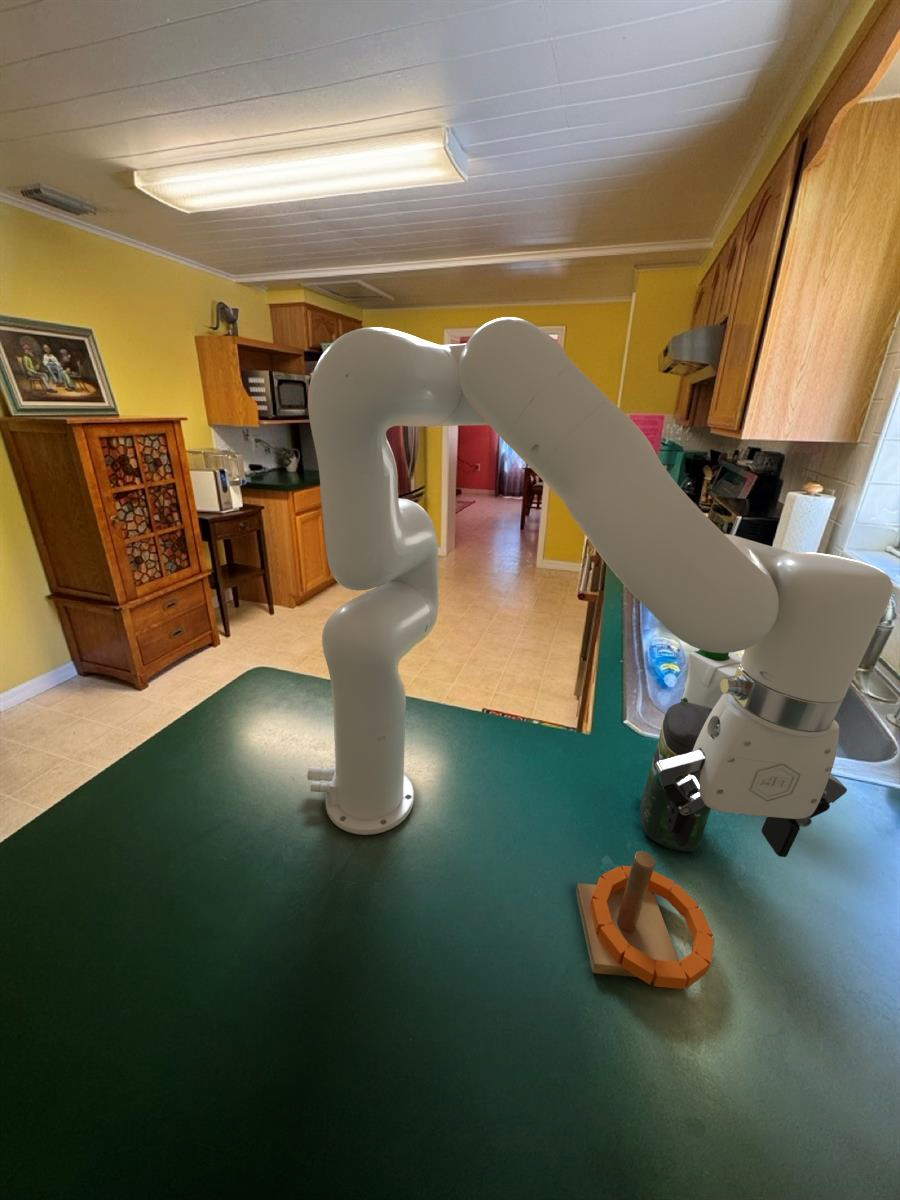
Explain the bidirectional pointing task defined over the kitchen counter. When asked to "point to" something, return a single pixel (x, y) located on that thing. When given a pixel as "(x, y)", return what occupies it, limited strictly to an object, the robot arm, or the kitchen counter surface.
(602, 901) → the orange segmented ring
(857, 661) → the robot arm
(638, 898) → the stand
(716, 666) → the milk carton
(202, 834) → the kitchen counter surface
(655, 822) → the coffee jar
